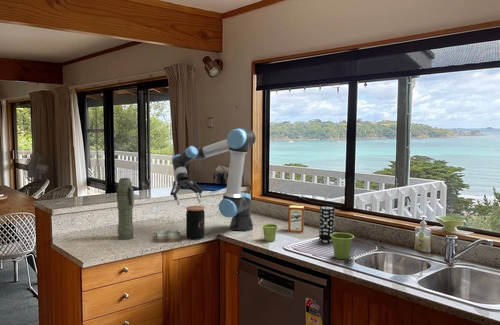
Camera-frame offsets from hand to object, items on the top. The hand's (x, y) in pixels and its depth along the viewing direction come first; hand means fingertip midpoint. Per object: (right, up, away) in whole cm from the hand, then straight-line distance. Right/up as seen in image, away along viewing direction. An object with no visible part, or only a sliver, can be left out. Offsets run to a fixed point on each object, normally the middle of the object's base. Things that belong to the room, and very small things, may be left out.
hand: (189, 202), depth 251 cm
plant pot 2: (+83, -24, -42) cm, 96 cm away
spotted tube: (+81, -21, -15) cm, 85 cm away
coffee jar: (+5, -20, -8) cm, 22 cm away
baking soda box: (+66, -19, +10) cm, 70 cm away
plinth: (-11, -20, -12) cm, 25 cm away
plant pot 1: (+48, -21, -12) cm, 54 cm away
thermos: (-36, -20, -10) cm, 42 cm away
